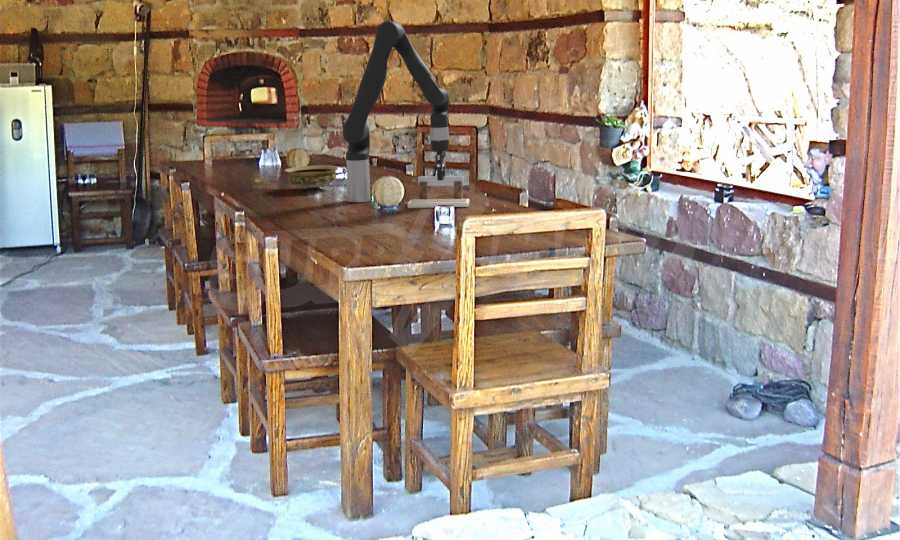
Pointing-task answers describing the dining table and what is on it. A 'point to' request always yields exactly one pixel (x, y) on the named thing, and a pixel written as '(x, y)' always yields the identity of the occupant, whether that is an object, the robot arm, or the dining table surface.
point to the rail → (445, 182)
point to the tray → (437, 203)
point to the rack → (425, 189)
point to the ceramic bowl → (312, 176)
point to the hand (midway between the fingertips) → (441, 179)
